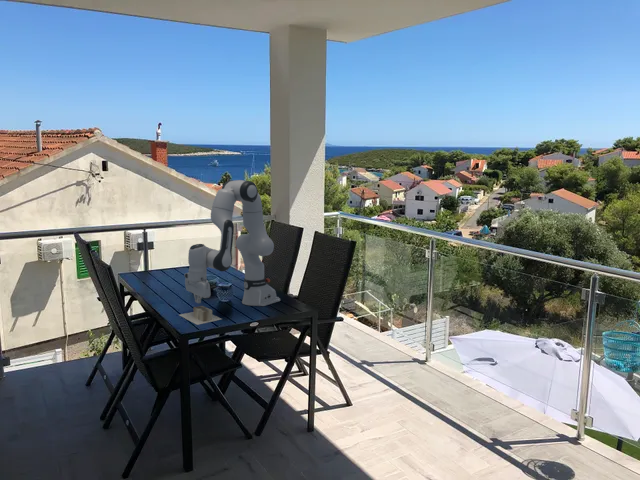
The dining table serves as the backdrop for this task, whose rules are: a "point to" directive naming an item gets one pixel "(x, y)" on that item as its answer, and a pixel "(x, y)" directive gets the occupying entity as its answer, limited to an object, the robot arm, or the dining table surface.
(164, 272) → the dining table surface
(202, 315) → the birch block
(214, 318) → the sand mat
